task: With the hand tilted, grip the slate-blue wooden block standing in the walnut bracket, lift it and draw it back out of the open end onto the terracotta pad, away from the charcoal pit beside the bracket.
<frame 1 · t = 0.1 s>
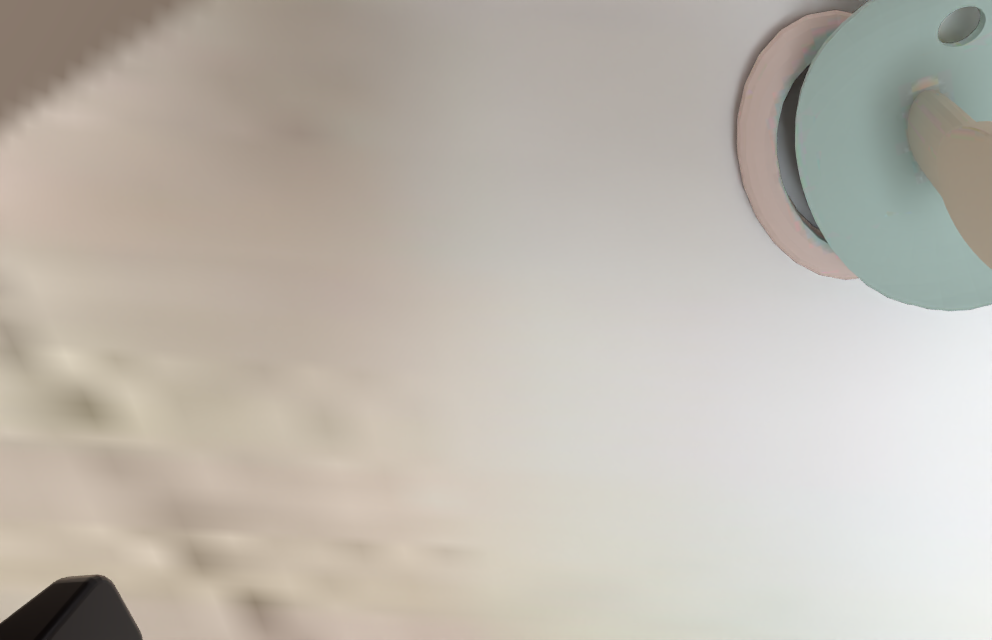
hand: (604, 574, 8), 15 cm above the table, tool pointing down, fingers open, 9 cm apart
pacifier: (870, 130, 21), on the table
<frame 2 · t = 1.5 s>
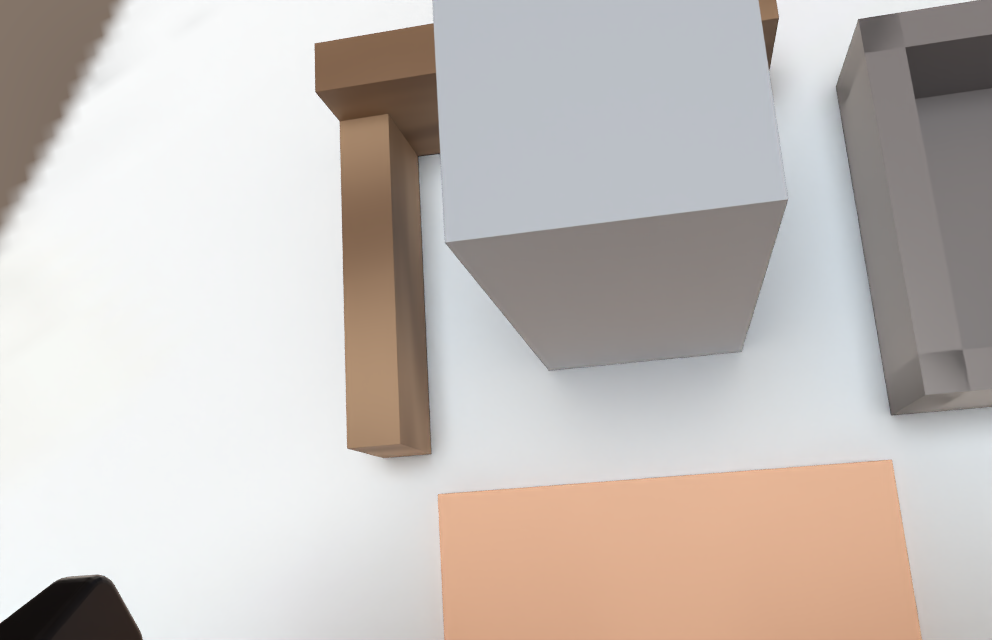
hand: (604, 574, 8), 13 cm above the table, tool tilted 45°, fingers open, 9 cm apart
slate block: (634, 270, 22), on the table
walnut bracket: (633, 269, 22), on the table
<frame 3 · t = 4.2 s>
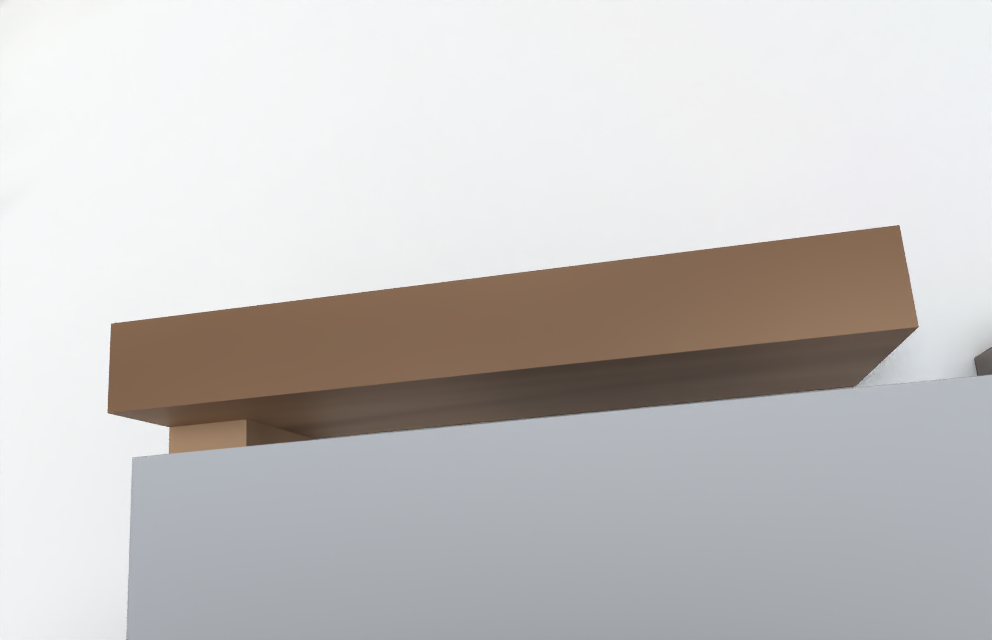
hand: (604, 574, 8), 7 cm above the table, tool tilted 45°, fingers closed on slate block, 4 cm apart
when the fingers open (8 cm above the table, at t = 7.9 s): slate block drops 1 cm, resting on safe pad.
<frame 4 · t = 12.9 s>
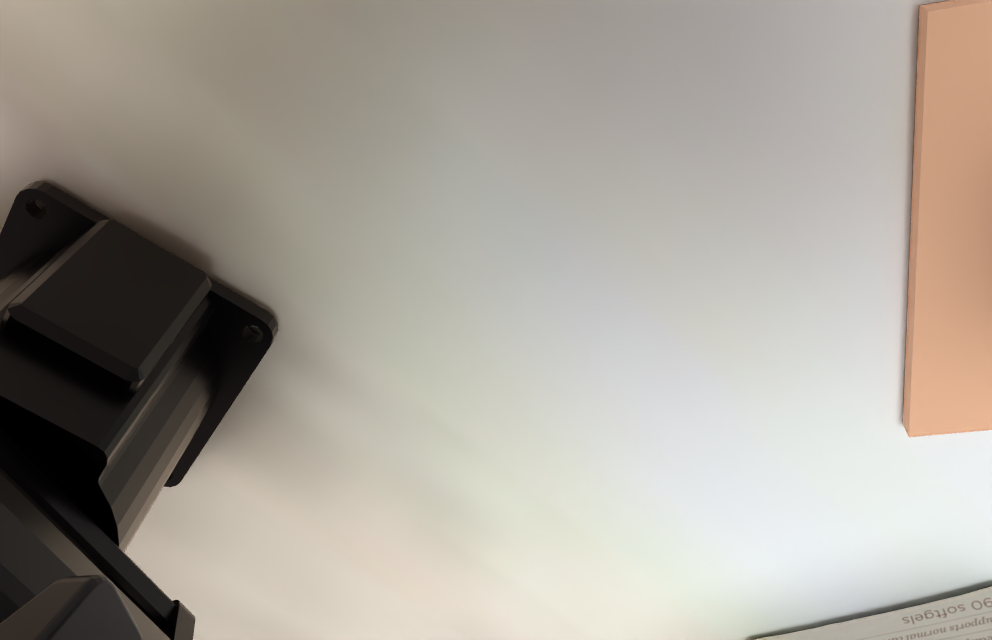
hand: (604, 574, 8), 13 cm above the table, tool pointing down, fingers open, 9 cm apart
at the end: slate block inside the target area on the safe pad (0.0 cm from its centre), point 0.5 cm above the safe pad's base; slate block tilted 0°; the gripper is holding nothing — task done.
